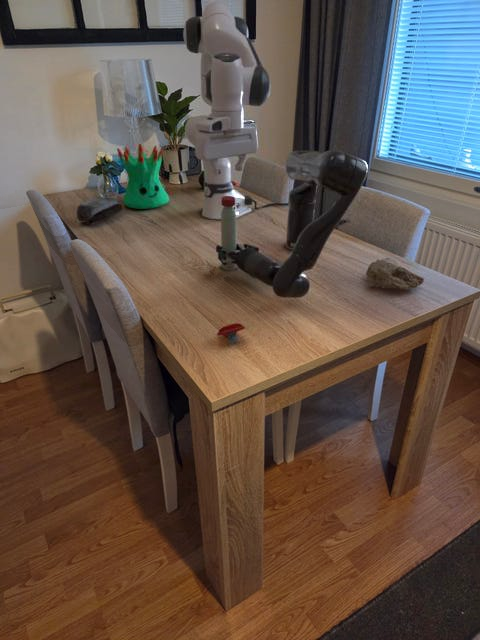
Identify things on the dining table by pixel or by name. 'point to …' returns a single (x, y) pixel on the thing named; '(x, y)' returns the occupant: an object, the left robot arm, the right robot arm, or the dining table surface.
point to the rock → (98, 210)
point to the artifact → (391, 275)
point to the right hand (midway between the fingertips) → (224, 246)
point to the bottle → (228, 233)
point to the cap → (228, 201)
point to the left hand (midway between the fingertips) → (228, 172)
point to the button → (231, 331)
